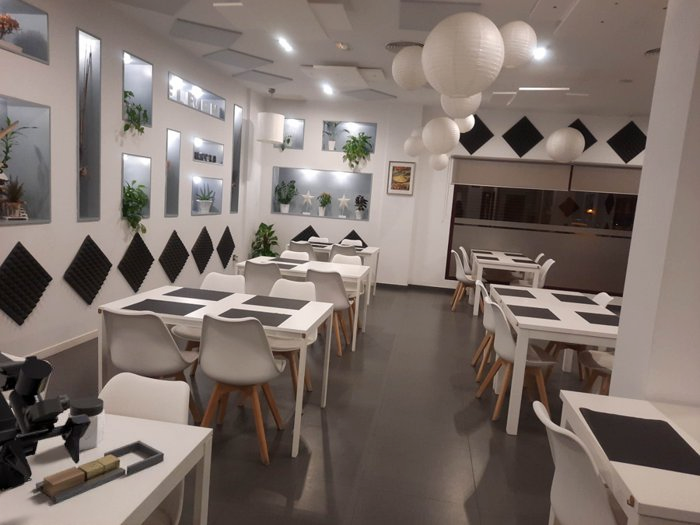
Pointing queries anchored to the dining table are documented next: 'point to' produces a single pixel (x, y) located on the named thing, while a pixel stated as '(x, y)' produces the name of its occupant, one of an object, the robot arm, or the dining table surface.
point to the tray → (138, 445)
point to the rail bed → (82, 486)
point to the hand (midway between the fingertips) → (54, 468)
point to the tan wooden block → (109, 463)
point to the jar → (96, 416)
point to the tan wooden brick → (63, 480)
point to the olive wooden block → (91, 470)
